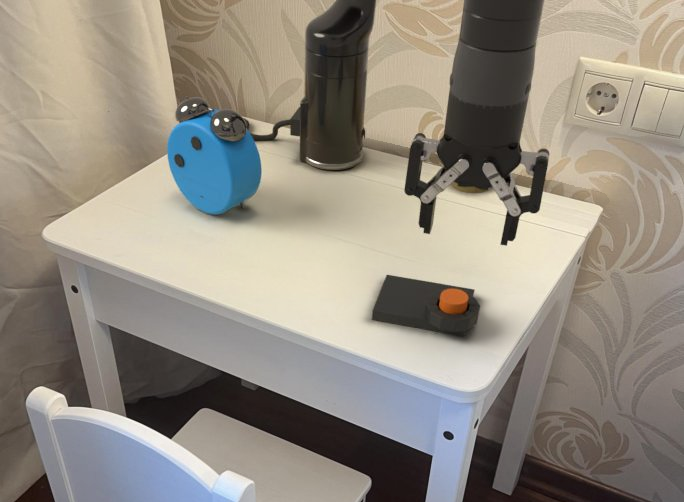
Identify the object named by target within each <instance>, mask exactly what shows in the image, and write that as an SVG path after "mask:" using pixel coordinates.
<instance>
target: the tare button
mask: <svg viewBox="0 0 684 502" xmlns="http://www.w3.org/2000/svg"><path fill="white" fill-rule="evenodd" d="M467 304H468V295H467V294H466V293H465V292H464V291H462V290H459V289H446V290H444V291H443V292H442V293H441V295H440V302H439V308H440V309H441V311H443V312H445V313H448V314H453V315H456V314H463V313H464V312H465V311H466V309H467Z"/></svg>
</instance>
